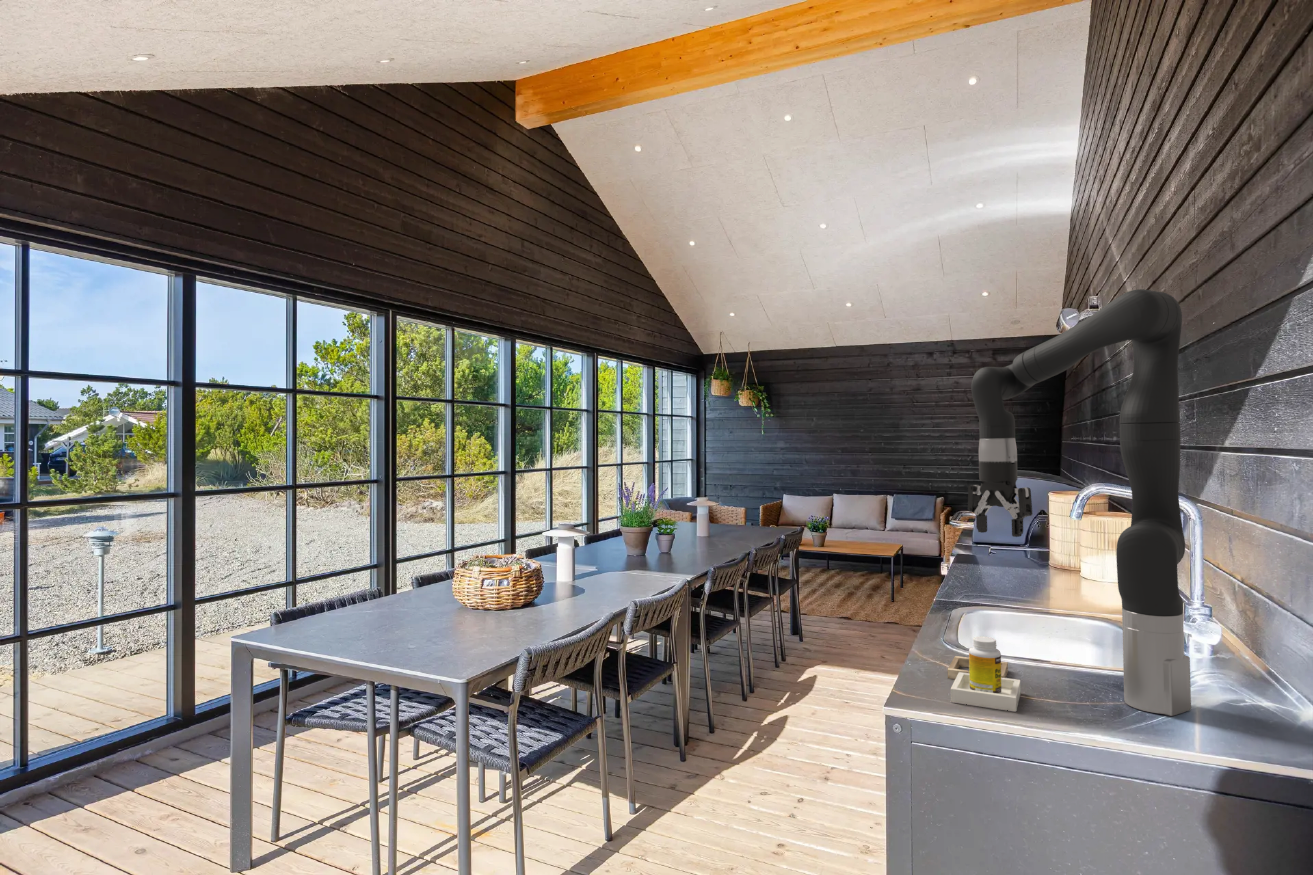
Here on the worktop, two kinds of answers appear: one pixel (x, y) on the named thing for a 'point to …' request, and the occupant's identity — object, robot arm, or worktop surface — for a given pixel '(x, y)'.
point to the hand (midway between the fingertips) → (999, 534)
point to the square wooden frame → (964, 662)
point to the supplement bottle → (985, 665)
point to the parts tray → (986, 694)
